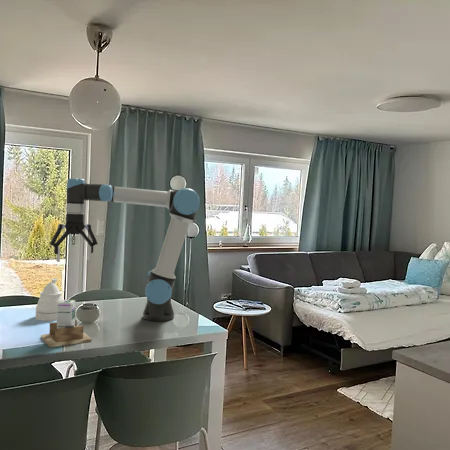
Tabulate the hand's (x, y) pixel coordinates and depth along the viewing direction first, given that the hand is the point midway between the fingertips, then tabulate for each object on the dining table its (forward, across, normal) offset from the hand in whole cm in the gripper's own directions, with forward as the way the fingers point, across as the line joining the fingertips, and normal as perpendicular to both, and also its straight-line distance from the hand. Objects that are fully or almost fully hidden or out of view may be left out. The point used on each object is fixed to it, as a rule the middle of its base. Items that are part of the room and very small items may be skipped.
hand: (73, 260), depth 194 cm
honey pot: (+29, +6, -16) cm, 34 cm away
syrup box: (+28, +8, +20) cm, 35 cm away
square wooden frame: (+29, +8, +20) cm, 36 cm away
